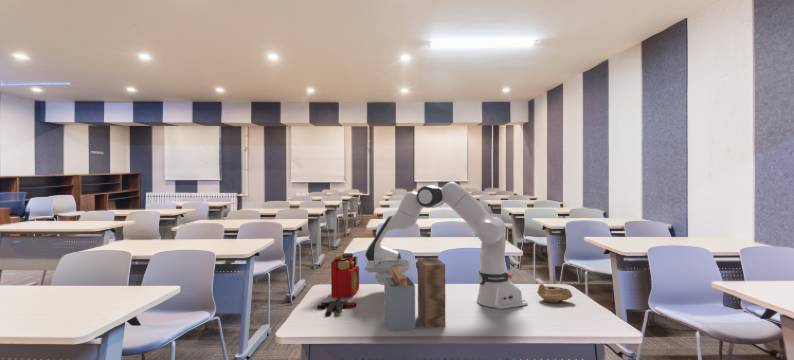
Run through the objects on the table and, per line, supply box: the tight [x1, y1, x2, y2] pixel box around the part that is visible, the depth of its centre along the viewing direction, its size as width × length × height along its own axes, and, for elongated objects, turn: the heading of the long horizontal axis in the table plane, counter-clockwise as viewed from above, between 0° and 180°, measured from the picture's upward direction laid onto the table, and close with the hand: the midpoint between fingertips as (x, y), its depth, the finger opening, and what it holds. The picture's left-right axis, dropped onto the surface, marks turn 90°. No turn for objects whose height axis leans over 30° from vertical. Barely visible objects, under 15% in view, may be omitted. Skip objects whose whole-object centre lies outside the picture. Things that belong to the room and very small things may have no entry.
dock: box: [383, 276, 416, 332], centre depth 147 cm, size 10×12×17 cm
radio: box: [330, 253, 360, 299], centre depth 187 cm, size 16×10×20 cm, turn 168°
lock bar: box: [390, 265, 408, 286], centre depth 150 cm, size 3×22×3 cm, turn 10°
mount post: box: [417, 257, 447, 329], centre depth 149 cm, size 8×12×24 cm, turn 10°
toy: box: [316, 297, 357, 317], centre depth 164 cm, size 15×16×3 cm
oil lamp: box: [536, 283, 573, 304], centre depth 173 cm, size 11×15×8 cm
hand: (390, 260), depth 168 cm, fingers open, 8 cm apart
